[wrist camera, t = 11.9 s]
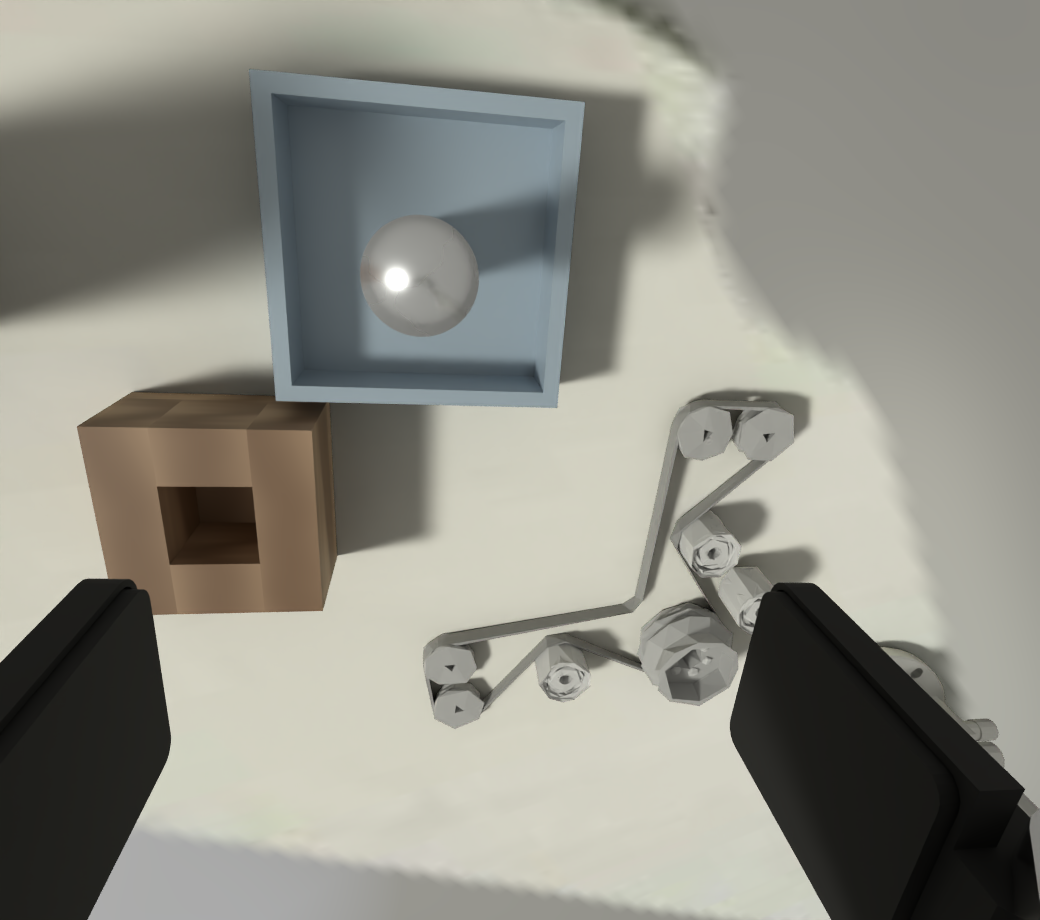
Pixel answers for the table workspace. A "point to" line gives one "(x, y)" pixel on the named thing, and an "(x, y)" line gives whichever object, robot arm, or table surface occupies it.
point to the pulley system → (673, 632)
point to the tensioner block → (215, 500)
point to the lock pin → (419, 275)
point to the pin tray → (414, 191)
